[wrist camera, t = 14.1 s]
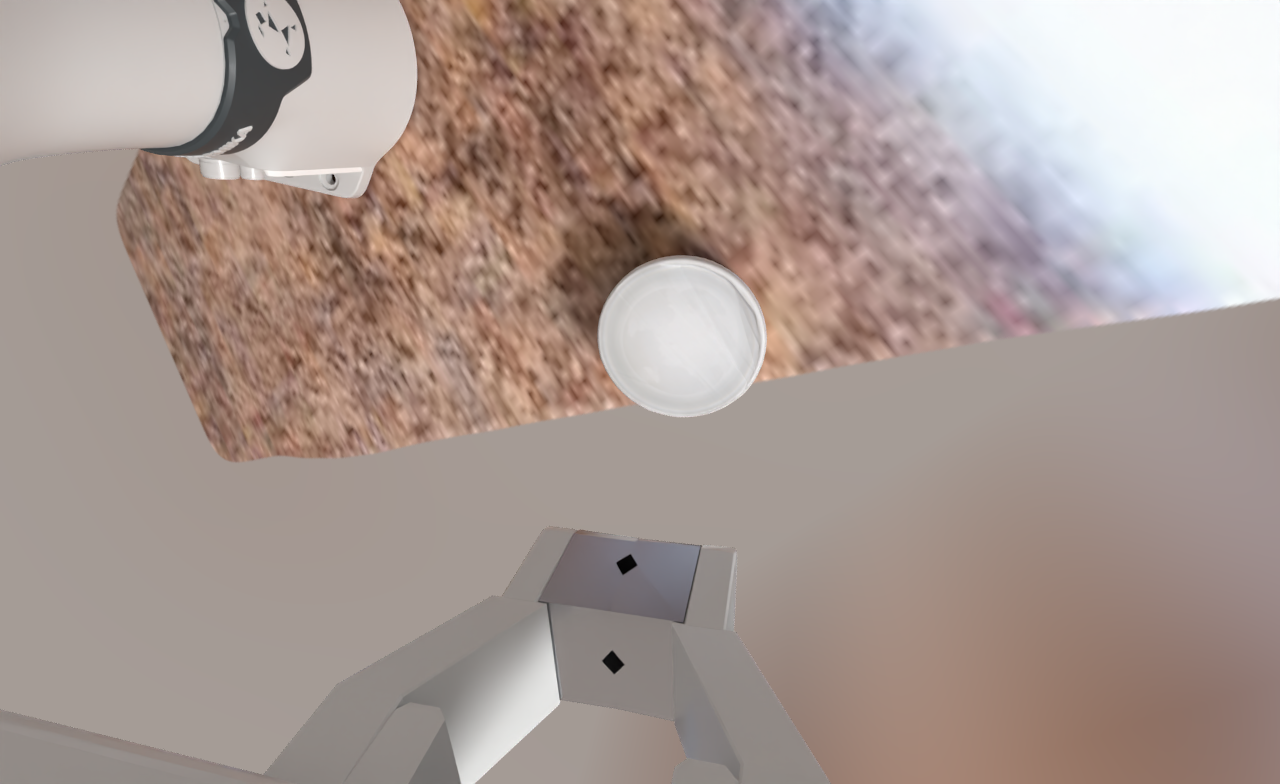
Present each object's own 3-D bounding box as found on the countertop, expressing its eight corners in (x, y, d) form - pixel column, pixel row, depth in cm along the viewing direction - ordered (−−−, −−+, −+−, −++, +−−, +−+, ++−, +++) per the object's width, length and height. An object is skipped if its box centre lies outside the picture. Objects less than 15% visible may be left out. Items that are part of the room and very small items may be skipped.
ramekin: (795, 281, 41) (797, 301, 36) (728, 411, 46) (722, 444, 41) (647, 217, 41) (629, 228, 36) (597, 353, 46) (576, 378, 42)
